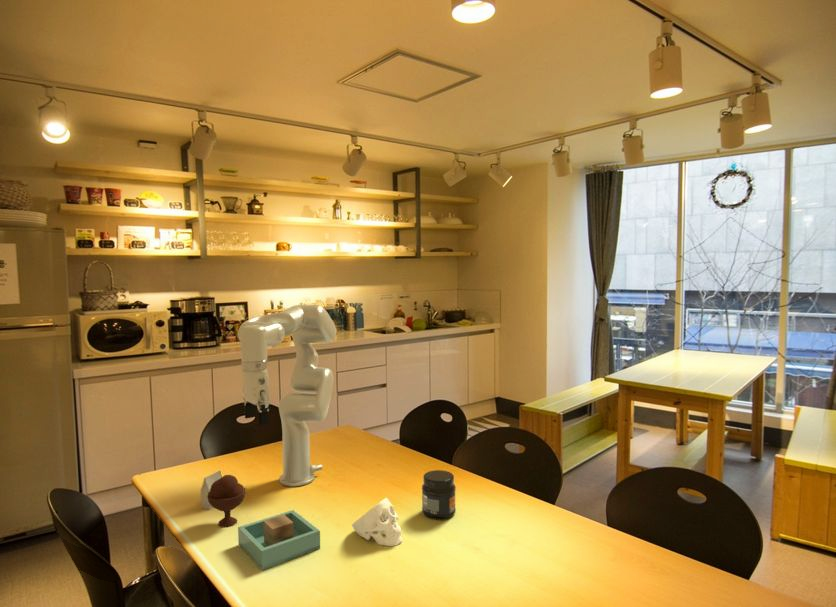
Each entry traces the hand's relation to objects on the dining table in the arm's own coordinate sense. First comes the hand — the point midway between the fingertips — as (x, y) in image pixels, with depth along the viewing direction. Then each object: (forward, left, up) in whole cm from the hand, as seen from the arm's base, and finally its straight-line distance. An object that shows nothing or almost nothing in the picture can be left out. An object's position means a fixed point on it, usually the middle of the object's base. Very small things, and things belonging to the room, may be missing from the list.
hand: (256, 421), depth 161 cm
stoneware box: (+3, +21, -30) cm, 37 cm away
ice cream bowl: (+9, -2, -30) cm, 31 cm away
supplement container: (-44, +34, -30) cm, 63 cm away
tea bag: (+8, -18, -30) cm, 36 cm away
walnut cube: (+3, +21, -29) cm, 36 cm away
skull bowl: (-21, +34, -30) cm, 50 cm away
